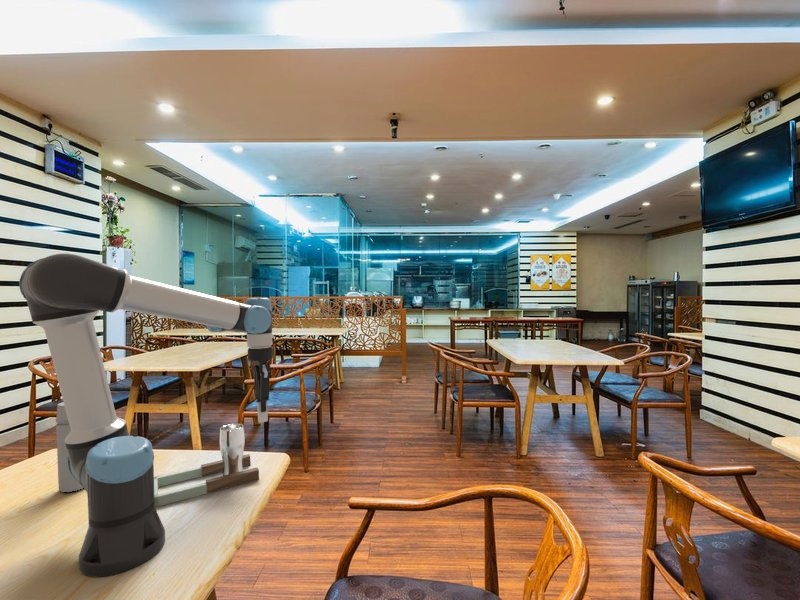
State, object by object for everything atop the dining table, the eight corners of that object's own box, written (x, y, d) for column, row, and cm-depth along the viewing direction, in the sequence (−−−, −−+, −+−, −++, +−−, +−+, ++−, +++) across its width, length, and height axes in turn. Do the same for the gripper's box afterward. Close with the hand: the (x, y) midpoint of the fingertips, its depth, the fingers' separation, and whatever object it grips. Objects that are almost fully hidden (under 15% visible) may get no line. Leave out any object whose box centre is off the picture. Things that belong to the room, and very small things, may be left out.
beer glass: (249, 471, 123) (248, 423, 123) (238, 481, 116) (236, 431, 116) (228, 470, 124) (227, 423, 124) (215, 481, 117) (214, 430, 117)
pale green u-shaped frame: (206, 493, 110) (206, 484, 110) (151, 507, 103) (151, 498, 103) (201, 474, 122) (201, 466, 122) (151, 486, 115) (151, 477, 115)
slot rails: (259, 479, 117) (258, 469, 117) (206, 493, 110) (206, 482, 110) (249, 463, 129) (248, 454, 129) (201, 474, 122) (201, 464, 122)
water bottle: (62, 497, 109) (58, 407, 109) (54, 489, 114) (51, 403, 114) (102, 484, 117) (99, 400, 116) (93, 477, 121) (90, 396, 121)
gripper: (277, 347, 121) (280, 424, 121) (267, 343, 132) (269, 413, 132) (252, 350, 117) (255, 429, 117) (243, 345, 128) (246, 418, 128)
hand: (262, 421), depth 125 cm, fingers closed
